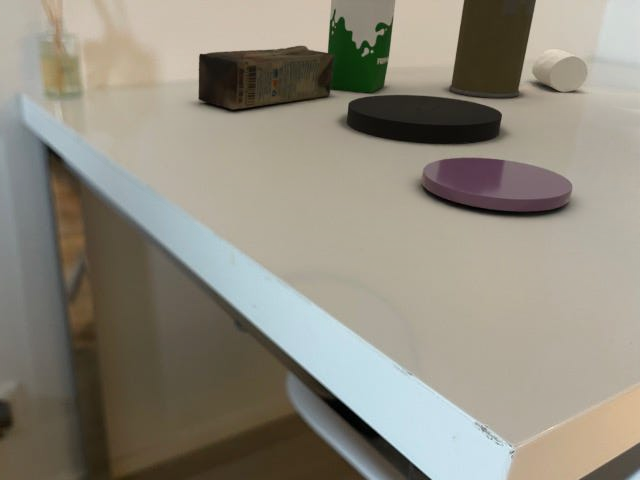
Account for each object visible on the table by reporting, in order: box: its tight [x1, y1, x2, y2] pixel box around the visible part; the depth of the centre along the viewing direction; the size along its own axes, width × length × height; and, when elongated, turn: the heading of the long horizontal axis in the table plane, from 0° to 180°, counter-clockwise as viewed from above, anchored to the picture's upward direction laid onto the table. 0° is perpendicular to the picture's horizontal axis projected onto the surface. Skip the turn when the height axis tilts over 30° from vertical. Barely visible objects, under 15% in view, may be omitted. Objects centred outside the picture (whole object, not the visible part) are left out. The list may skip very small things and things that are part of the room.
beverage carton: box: [198, 45, 334, 111], centre depth 90 cm, size 8×19×7 cm, turn 133°
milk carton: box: [327, 0, 396, 94], centre depth 98 cm, size 9×9×20 cm
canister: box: [448, 0, 537, 99], centre depth 98 cm, size 11×10×20 cm
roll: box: [531, 48, 589, 93], centre depth 108 cm, size 6×12×6 cm, turn 177°
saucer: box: [421, 157, 573, 212], centre depth 56 cm, size 12×12×1 cm
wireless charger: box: [346, 94, 503, 145], centre depth 79 cm, size 18×18×2 cm
